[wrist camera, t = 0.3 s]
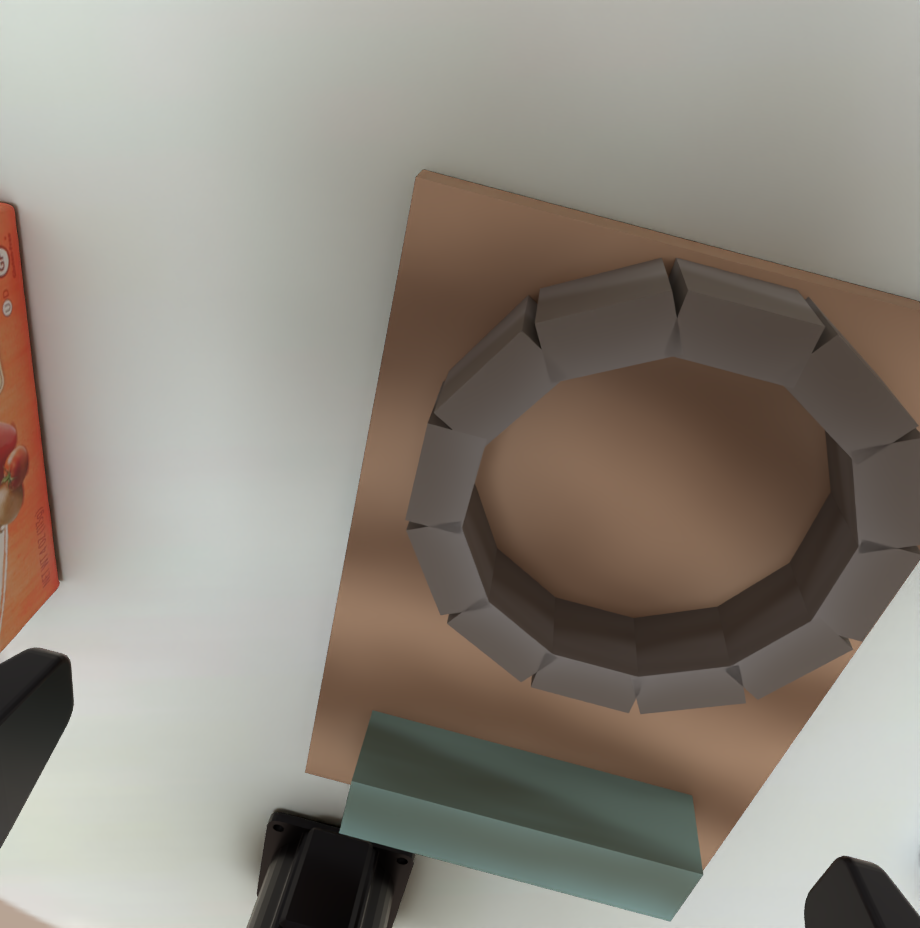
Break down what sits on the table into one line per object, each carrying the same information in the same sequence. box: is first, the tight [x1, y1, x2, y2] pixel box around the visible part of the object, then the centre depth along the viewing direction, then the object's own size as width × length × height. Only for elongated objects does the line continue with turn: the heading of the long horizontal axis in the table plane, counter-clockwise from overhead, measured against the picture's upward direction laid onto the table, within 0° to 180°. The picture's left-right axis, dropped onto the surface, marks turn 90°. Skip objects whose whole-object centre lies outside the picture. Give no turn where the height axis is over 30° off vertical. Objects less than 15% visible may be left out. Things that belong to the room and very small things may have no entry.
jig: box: [305, 170, 920, 921], centre depth 24 cm, size 23×16×4 cm
